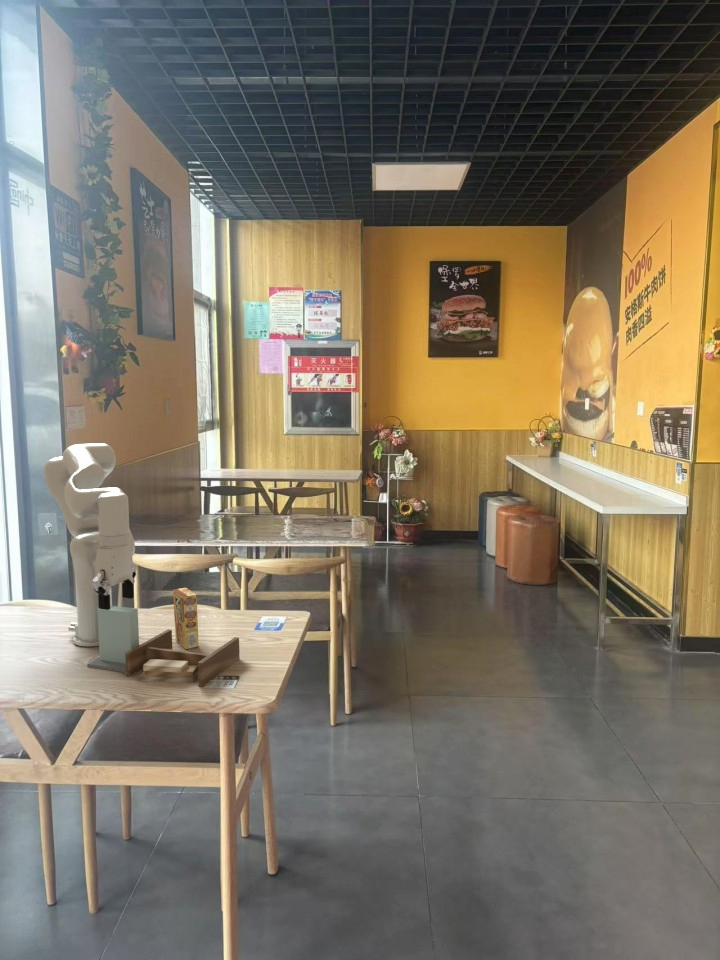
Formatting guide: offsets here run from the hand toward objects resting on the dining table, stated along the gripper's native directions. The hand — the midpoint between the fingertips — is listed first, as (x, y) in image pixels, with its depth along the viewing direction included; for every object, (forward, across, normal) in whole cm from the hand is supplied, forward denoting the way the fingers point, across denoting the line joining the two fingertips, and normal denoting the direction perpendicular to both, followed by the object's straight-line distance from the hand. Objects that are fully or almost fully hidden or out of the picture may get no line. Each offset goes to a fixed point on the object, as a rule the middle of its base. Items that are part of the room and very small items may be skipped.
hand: (116, 603), depth 190 cm
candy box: (+16, -17, +10) cm, 26 cm away
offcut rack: (+16, -2, +19) cm, 25 cm away
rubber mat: (+16, +1, +1) cm, 16 cm away
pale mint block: (+15, +1, +1) cm, 15 cm away
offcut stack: (+16, +5, +19) cm, 25 cm away
